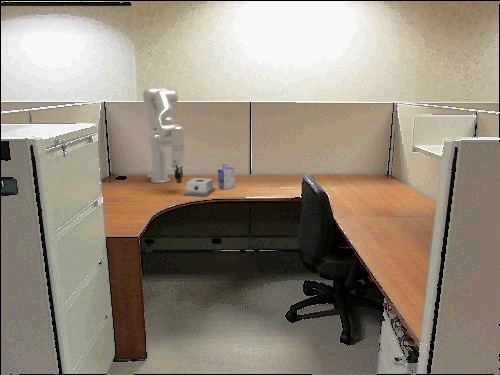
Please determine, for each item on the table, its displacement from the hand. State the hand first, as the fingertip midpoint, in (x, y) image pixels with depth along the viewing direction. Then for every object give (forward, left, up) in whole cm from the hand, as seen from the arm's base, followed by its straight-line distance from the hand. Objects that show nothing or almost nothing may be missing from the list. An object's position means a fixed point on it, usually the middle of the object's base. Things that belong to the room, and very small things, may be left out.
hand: (178, 178), depth 260 cm
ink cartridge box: (+25, +16, -9) cm, 31 cm away
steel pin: (0, 0, -3) cm, 3 cm away
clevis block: (+13, +1, -8) cm, 15 cm away
